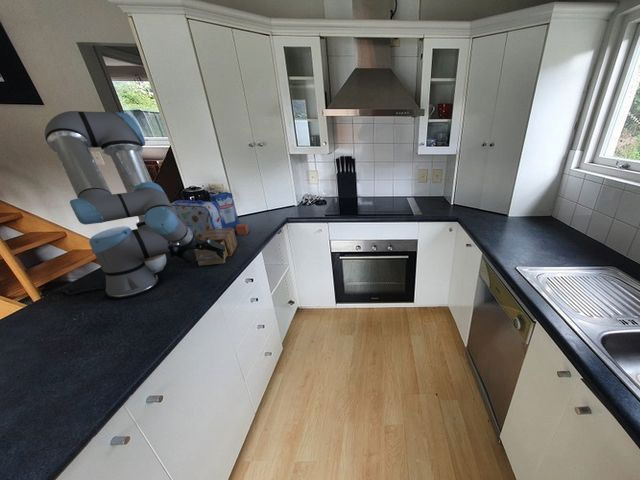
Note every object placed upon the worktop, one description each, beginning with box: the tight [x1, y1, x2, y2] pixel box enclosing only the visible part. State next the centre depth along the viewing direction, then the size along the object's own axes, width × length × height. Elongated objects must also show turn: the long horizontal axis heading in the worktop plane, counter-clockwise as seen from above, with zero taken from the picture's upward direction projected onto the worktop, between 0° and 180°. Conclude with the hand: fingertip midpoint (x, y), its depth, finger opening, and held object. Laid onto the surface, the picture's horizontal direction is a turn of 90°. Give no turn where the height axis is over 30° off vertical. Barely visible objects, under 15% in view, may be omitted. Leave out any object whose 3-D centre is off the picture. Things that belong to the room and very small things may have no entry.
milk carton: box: [208, 191, 240, 228], centre depth 164 cm, size 10×6×20 cm, turn 148°
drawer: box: [193, 240, 228, 267], centre depth 124 cm, size 18×10×8 cm, turn 15°
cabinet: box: [200, 227, 238, 258], centre depth 134 cm, size 15×12×10 cm
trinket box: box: [144, 254, 167, 274], centre depth 116 cm, size 11×11×9 cm
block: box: [235, 222, 249, 236], centre depth 158 cm, size 5×5×5 cm
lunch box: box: [170, 199, 224, 239], centre depth 146 cm, size 28×10×22 cm, turn 85°
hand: (206, 257), depth 116 cm, fingers open, 12 cm apart
